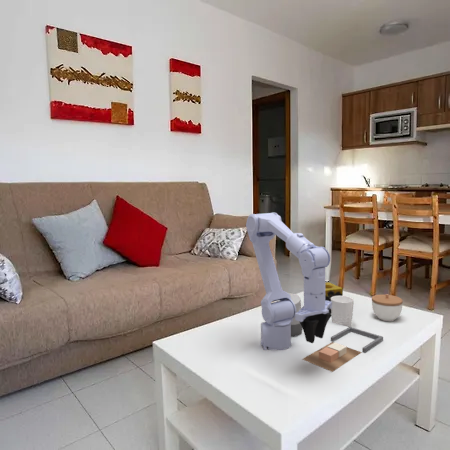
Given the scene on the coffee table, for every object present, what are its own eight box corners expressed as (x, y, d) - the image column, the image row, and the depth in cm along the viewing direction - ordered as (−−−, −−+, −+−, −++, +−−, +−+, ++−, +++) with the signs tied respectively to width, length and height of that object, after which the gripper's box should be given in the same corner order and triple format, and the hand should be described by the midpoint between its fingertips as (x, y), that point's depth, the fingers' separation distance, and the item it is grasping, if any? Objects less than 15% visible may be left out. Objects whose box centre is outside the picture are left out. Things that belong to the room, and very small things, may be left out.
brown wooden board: (332, 377, 98) (332, 371, 97) (302, 363, 105) (302, 359, 105) (361, 357, 108) (361, 352, 108) (332, 346, 116) (332, 342, 115)
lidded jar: (406, 324, 131) (406, 299, 130) (375, 323, 133) (375, 298, 132) (397, 313, 142) (397, 290, 141) (368, 312, 144) (368, 290, 143)
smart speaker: (269, 335, 125) (269, 296, 123) (285, 327, 131) (284, 290, 130) (292, 343, 118) (292, 302, 117) (307, 335, 125) (307, 295, 123)
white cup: (338, 330, 127) (338, 303, 126) (326, 322, 135) (326, 296, 134) (357, 327, 129) (358, 301, 128) (344, 320, 137) (345, 294, 136)
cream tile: (339, 357, 105) (339, 350, 105) (327, 352, 108) (327, 346, 108) (346, 352, 108) (346, 346, 108) (334, 348, 111) (334, 342, 111)
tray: (364, 357, 108) (364, 348, 107) (330, 345, 116) (330, 337, 116) (383, 345, 115) (383, 336, 115) (349, 334, 124) (349, 326, 124)
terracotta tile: (330, 362, 102) (330, 356, 102) (318, 357, 105) (318, 351, 105) (338, 357, 105) (338, 351, 105) (326, 353, 108) (326, 347, 108)
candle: (307, 307, 152) (307, 284, 151) (328, 304, 155) (328, 281, 154) (321, 315, 143) (321, 290, 142) (343, 312, 146) (343, 288, 145)
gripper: (311, 301, 90) (311, 352, 92) (342, 288, 100) (341, 335, 101) (288, 295, 96) (289, 344, 97) (320, 284, 105) (320, 328, 107)
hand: (314, 339), depth 100 cm, fingers open, 4 cm apart
